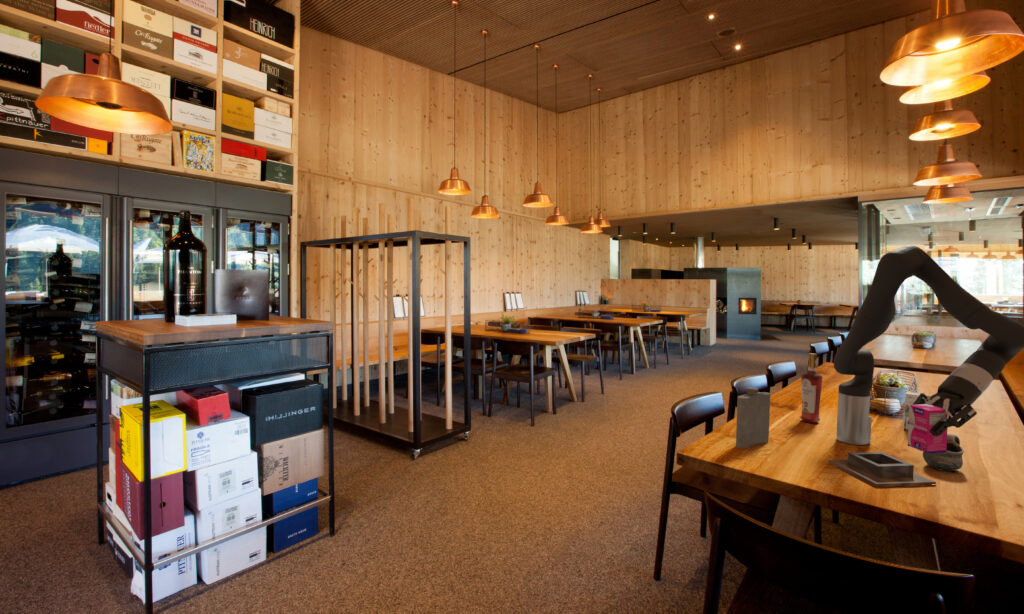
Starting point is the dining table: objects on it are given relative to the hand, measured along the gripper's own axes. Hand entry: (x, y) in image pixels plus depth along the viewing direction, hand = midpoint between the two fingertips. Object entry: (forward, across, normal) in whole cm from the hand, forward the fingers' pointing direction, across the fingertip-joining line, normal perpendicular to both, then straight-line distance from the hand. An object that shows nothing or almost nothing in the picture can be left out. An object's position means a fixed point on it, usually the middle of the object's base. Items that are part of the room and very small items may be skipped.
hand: (921, 429), depth 127 cm
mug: (-6, -19, +33) cm, 38 cm away
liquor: (-1, -68, +28) cm, 73 cm away
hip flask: (+27, -44, 0) cm, 52 cm away
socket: (+11, -16, +16) cm, 25 cm away
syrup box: (-24, -55, +52) cm, 79 cm away
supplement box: (+3, 0, +5) cm, 6 cm away
